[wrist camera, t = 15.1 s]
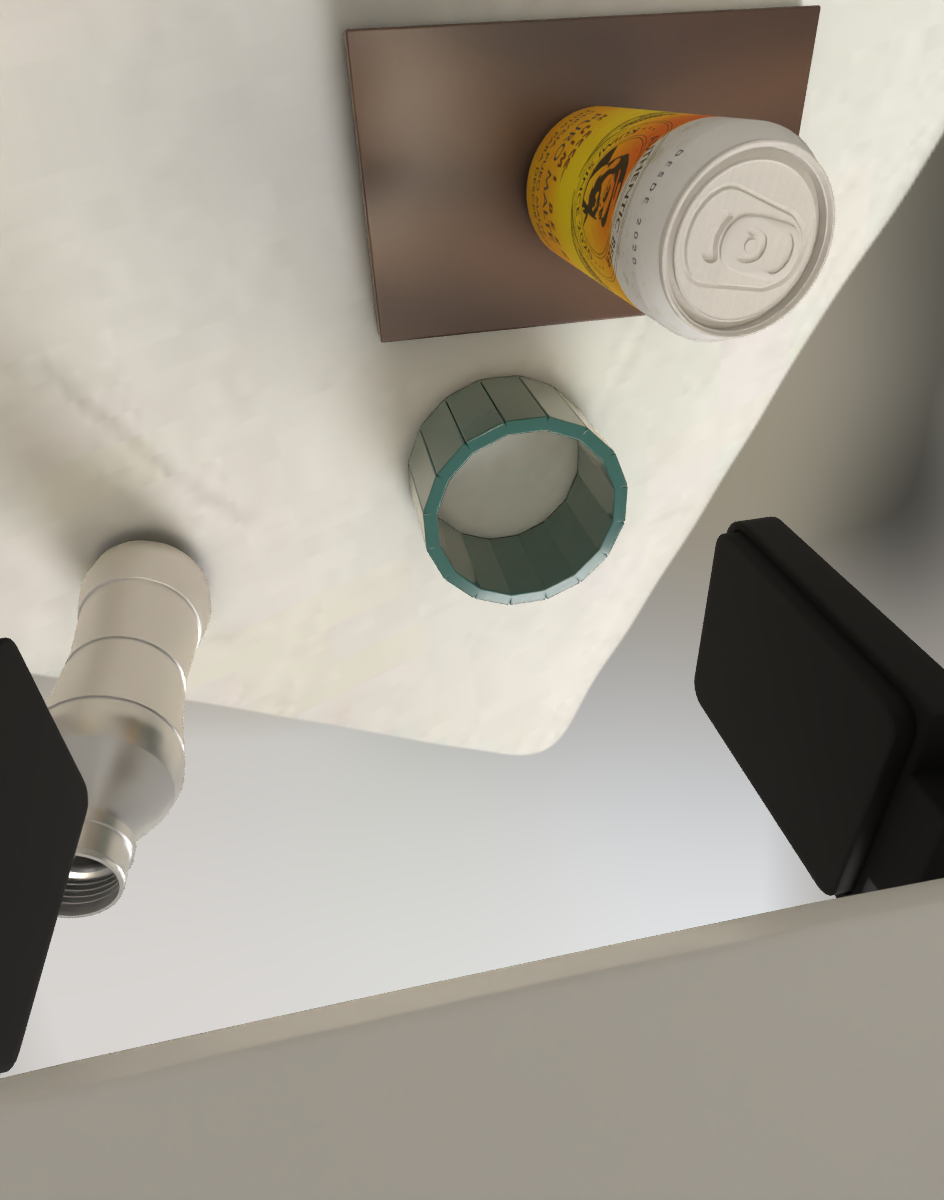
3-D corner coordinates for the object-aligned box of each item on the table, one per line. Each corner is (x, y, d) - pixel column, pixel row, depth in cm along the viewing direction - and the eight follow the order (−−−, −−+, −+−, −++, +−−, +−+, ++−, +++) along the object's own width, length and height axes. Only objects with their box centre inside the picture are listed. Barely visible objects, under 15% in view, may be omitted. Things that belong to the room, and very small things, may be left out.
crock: (400, 388, 39) (414, 432, 34) (593, 366, 41) (634, 405, 36) (418, 559, 45) (432, 617, 40) (586, 535, 46) (620, 588, 42)
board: (343, 31, 31) (345, 29, 29) (802, 7, 33) (821, 5, 32) (378, 334, 37) (381, 343, 36) (756, 295, 40) (770, 302, 39)
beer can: (543, 87, 32) (698, 93, 20) (672, 126, 33) (887, 154, 21) (506, 243, 35) (620, 331, 23) (625, 271, 37) (790, 367, 24)
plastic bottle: (192, 514, 41) (124, 801, 25) (230, 614, 45) (193, 917, 29) (70, 538, 40) (-82, 847, 24) (119, 637, 44) (18, 960, 28)
